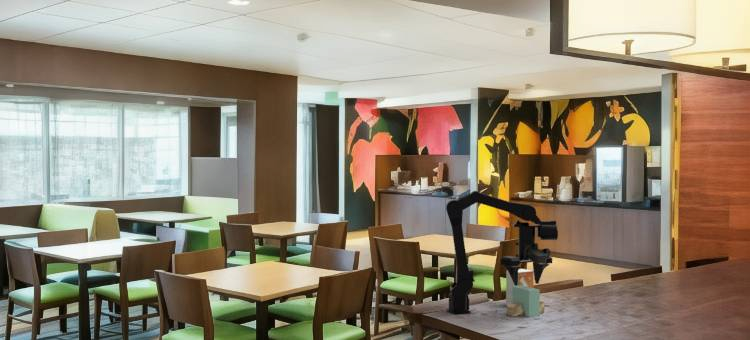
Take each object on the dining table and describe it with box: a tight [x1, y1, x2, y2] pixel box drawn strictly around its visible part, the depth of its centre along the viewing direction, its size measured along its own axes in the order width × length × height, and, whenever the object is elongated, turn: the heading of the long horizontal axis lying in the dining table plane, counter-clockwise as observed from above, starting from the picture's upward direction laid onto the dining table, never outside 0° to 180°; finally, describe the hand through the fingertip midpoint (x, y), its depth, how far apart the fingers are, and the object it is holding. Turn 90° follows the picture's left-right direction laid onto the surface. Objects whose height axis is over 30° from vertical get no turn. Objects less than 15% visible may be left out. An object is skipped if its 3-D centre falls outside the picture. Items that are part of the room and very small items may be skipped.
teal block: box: [512, 285, 541, 318], centre depth 227 cm, size 4×9×9 cm, turn 26°
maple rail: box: [506, 299, 545, 317], centre depth 227 cm, size 14×3×4 cm, turn 116°
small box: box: [505, 268, 534, 306], centre depth 241 cm, size 8×6×13 cm
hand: (526, 284), depth 227 cm, fingers open, 9 cm apart
